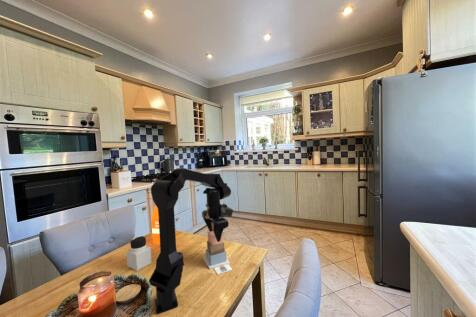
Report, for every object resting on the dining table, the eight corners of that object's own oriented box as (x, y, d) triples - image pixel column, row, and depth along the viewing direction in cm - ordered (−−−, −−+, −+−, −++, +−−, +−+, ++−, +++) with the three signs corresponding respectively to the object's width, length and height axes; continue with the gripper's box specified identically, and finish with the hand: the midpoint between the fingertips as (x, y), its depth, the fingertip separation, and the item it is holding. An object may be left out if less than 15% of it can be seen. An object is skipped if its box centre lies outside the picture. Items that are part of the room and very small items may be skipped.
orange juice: (167, 245, 107) (165, 207, 106) (152, 244, 109) (150, 207, 108) (175, 238, 114) (173, 203, 113) (161, 237, 116) (159, 203, 115)
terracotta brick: (222, 242, 88) (222, 233, 88) (211, 245, 85) (211, 236, 85) (218, 238, 92) (218, 229, 92) (208, 241, 90) (207, 232, 90)
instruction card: (232, 269, 82) (232, 268, 82) (217, 274, 80) (217, 273, 80) (228, 264, 86) (228, 263, 86) (214, 268, 84) (214, 267, 84)
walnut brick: (224, 252, 87) (224, 243, 87) (211, 255, 85) (210, 246, 85) (220, 246, 93) (219, 237, 93) (207, 249, 90) (206, 240, 90)
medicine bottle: (152, 262, 90) (150, 236, 90) (137, 271, 84) (135, 243, 84) (142, 258, 94) (140, 233, 94) (127, 266, 88) (125, 239, 87)
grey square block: (229, 263, 87) (229, 252, 87) (209, 269, 83) (209, 258, 83) (222, 254, 95) (221, 244, 95) (203, 259, 91) (203, 248, 91)
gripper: (239, 204, 83) (241, 241, 84) (223, 195, 100) (224, 226, 101) (213, 208, 78) (215, 248, 79) (200, 198, 95) (202, 231, 96)
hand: (215, 237), depth 89 cm, fingers open, 9 cm apart
